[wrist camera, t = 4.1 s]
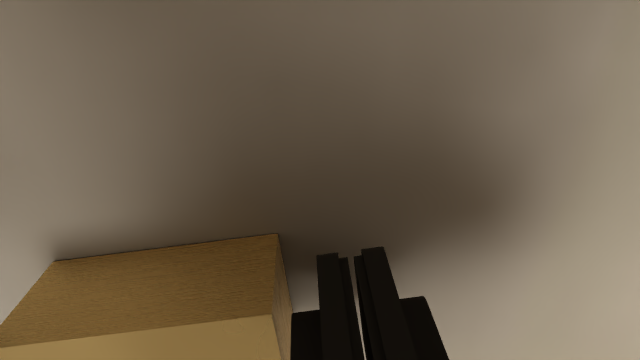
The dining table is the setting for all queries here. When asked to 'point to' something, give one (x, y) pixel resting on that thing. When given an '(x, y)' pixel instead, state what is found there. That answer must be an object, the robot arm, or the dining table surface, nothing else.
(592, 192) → the dining table surface
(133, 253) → the yellow rectangular block
